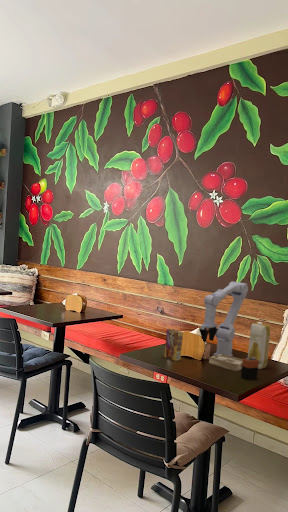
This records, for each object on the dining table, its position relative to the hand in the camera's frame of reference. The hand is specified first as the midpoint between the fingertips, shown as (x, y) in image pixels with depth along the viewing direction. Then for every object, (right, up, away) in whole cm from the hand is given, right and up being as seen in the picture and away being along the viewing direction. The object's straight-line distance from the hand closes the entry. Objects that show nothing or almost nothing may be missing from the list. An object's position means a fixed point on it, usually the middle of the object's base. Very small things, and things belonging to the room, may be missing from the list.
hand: (207, 341), depth 232 cm
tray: (+9, -11, -11) cm, 18 cm away
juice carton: (+25, -12, -7) cm, 29 cm away
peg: (-1, -10, 0) cm, 10 cm away
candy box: (-20, -8, -7) cm, 23 cm away
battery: (+15, -12, -30) cm, 36 cm away
